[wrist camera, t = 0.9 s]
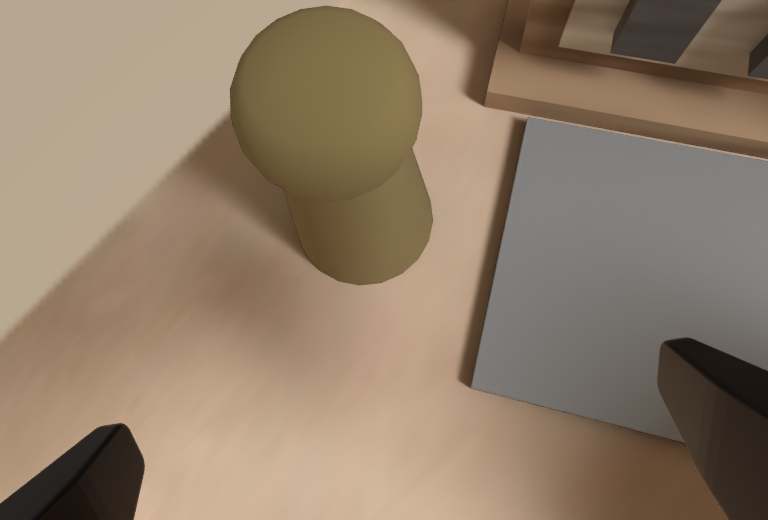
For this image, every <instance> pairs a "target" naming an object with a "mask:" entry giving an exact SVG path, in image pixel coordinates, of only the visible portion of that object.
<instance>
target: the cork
mask: <svg viewBox="0 0 768 520" xmlns="http://www.w3.org/2000/svg"><path fill="white" fill-rule="evenodd" d="M230 106H231V119H232V124H233V128H234V130H235V133H236V135H237V138H238V140H239V143H240V145H241V148H242V150H243V152H244V153H245V155H246V156H247V157H248V159H249V160H250V161H251V162H252V163H253V164H254V166H255V167H256V168H257V169H258V170H259V171H260V172H261V173H262V174H263V175H264V177H265V178H266V179H267V180H268V181H270V182H272V183H274V184H275V185H277V186H279V187H281V188H283V189H284V192H285V195H286V198H287V202H288V205H289V208H290V211H291V214H292V218H293V221H294V224H295V227H296V231H297V234H298V237H299V239H300V242H301V244H302V247H303V249H304V251H305V254H306V256H307V257H308V258H309V259H310V260H311V261H312V262H313V264H314V265H315V266H316V267H317V268H318V269H319V270H320V271H321V272H323V273H325V274H327V275H328V276H330V277H332V278H334V279H335V280H337V281H340V282H345V283H350V284H355V285H367V284H376V283H382V282H385V281H387V280H389V279H391V278H393V277H396V276H398V275H400V274H402V273H403V272H404V271H405V270H407V269H408V268H409V267H410V266H411V265H412V264H413V263H414V262H416V261H417V260H418V259H419V257H420V255H421V253H422V252H423V250H424V248H425V247H426V245H427V243H428V241H429V237H430V233H431V228H432V223H433V217H432V209H431V202H430V198H429V195H428V192H427V189H426V186H425V184H424V181H423V178H422V175H421V172H420V169H419V166H418V163H417V160H416V158H415V155H414V152H413V149H412V147H413V145H414V143H415V141H416V139H417V134H418V130H419V125H420V121H421V116H422V96H421V89H420V82H419V75H418V73H417V71H416V69H415V67H414V64H413V63H412V61H411V59H410V57H409V55H408V53H407V51H406V50H405V48H404V46H403V44H402V42H401V41H400V40H399V39H398V38H397V37H396V36H394V35H393V34H392V33H391V32H390V31H389V30H388V29H387V28H386V27H384V26H383V25H382V24H381V23H379V22H377V21H376V20H374V19H372V18H370V17H368V16H365V15H363V14H361V13H359V12H356V11H354V10H352V9H346V8H339V7H331V6H321V7H315V8H308V9H300V10H298V11H296V12H293V13H291V14H288V15H286V16H284V17H281V18H279V19H277V20H275V21H274V22H272V23H271V24H270V25H269V26H267V27H266V28H265V29H264V30H262V31H261V32H260V33H259V34H257V35H256V36H255V38H254V39H253V41H252V42H251V43H250V45H249V46H248V47H247V49H246V50H245V52H244V53H243V54H242V56H241V58H240V61H239V63H238V66H237V69H236V72H235V75H234V78H233V81H232V85H231V88H230Z"/></svg>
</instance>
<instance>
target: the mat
mask: <svg viewBox="0 0 768 520" xmlns="http://www.w3.org/2000/svg"><path fill="white" fill-rule="evenodd" d="M683 337H689V338H693V339H695V340H697V341H700V342H702V343H704V344H707V345H709V346H711V347H714V348H716V349H718V350H721V351H723V352H725V353H728V354H730V355H732V356H735V357H737V358H739V359H742V360H744V361H746V362H749V363H751V364H753V365H756V366H758V367H760V368H763V369H765V370H767V371H768V161H763V160H758V159H752V158H747V157H741V156H736V155H731V154H725V153H720V152H714V151H709V150H704V149H698V148H693V147H687V146H682V145H677V144H671V143H666V142H660V141H655V140H649V139H644V138H639V137H633V136H628V135H622V134H617V133H612V132H606V131H601V130H595V129H590V128H585V127H579V126H574V125H568V124H563V123H558V122H552V121H547V120H541V119H536V118H530V117H528V119H527V121H526V124H525V129H524V134H523V139H522V143H521V148H520V153H519V158H518V162H517V167H516V172H515V177H514V181H513V186H512V191H511V196H510V200H509V205H508V210H507V215H506V219H505V224H504V229H503V234H502V238H501V243H500V248H499V253H498V257H497V262H496V267H495V272H494V277H493V281H492V286H491V291H490V296H489V300H488V305H487V310H486V315H485V319H484V324H483V329H482V334H481V338H480V343H479V348H478V353H477V357H476V362H475V367H474V372H473V376H472V381H471V386H470V388H472V389H476V390H480V391H483V392H487V393H491V394H495V395H499V396H503V397H507V398H511V399H515V400H519V401H523V402H526V403H530V404H534V405H538V406H542V407H546V408H550V409H554V410H558V411H562V412H566V413H569V414H573V415H577V416H581V417H585V418H589V419H593V420H597V421H601V422H605V423H609V424H613V425H616V426H620V427H624V428H628V429H632V430H636V431H640V432H644V433H648V434H652V435H656V436H659V437H663V438H667V439H671V440H675V441H679V442H683V443H684V441H683V439H682V437H681V435H680V433H679V431H678V429H677V427H676V425H675V423H674V421H673V419H672V417H671V415H670V413H669V411H668V409H667V407H666V405H665V403H664V401H663V399H662V397H661V395H660V393H659V390H658V385H657V374H658V363H659V352H660V346H661V344H662V343H663V342H664V341H665V340H670V339H676V338H683Z"/></svg>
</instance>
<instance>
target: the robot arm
mask: <svg viewBox="0 0 768 520" xmlns="http://www.w3.org/2000/svg"><path fill="white" fill-rule="evenodd" d="M657 385H658V390H659V393H660V395H661V397H662V399H663V401H664V403H665V405H666V407H667V409H668V411H669V413H670V415H671V417H672V419H673V421H674V423H675V425H676V427H677V429H678V431H679V433H680V435H681V437H682V439H683V441H684V443H685V445H686V447H687V449H688V451H689V453H690V455H691V457H692V459H693V460H694V462H695V464H696V466H697V468H698V470H699V472H700V474H701V476H702V477H703V479H704V481H705V482H706V484H707V486H708V487H709V489H710V491H711V492H712V494H713V495H714V497H715V498H716V500H717V501H718V503H719V505H720V506H721V508H722V509H723V511H724V512H725V514H726V515H727V517H728V518H729V520H768V371H767V370H765V369H763V368H760V367H758V366H756V365H753V364H751V363H749V362H746V361H744V360H742V359H739V358H737V357H735V356H732V355H730V354H728V353H725V352H723V351H721V350H718V349H716V348H714V347H711V346H709V345H707V344H704V343H702V342H700V341H697V340H695V339H693V338H689V337H683V338H676V339H670V340H665V341H664V342H663V343H662V344H661V346H660V352H659V363H658V374H657ZM144 468H145V465H144V459H143V456H142V454H141V452H140V450H139V448H138V446H137V443H136V441H135V439H134V437H133V435H132V433H131V431H130V429H129V428H128V427H127V426H126V425H125V424H122V423H118V424H111V425H105V426H100V427H98V428H96V429H95V430H94V431H92V432H91V433H90V434H89V435H87V436H86V437H85V438H83V439H82V440H81V441H80V442H78V443H77V444H76V445H75V446H73V447H72V448H71V449H69V450H68V451H67V452H66V453H64V454H63V455H62V456H60V457H59V458H58V459H57V460H55V461H54V462H53V463H52V464H50V465H49V466H48V467H46V468H45V469H44V470H43V471H41V472H40V473H39V474H37V475H36V476H35V477H34V478H32V479H31V480H30V481H29V482H27V483H26V484H25V485H23V486H22V487H21V488H20V489H18V490H17V491H16V492H14V493H13V494H12V495H11V496H9V497H8V498H7V499H6V500H4V501H3V502H2V503H0V520H134V516H135V511H136V507H137V502H138V498H139V493H140V489H141V484H142V480H143V475H144Z"/></svg>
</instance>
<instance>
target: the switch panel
mask: <svg viewBox="0 0 768 520" xmlns="http://www.w3.org/2000/svg"><path fill="white" fill-rule="evenodd" d="M484 106H486V107H491V108H497V109H502V110H508V111H513V112H518V113H524V114H529V115H535V116H540V117H546V118H551V119H556V120H562V121H567V122H573V123H578V124H584V125H589V126H594V127H600V128H605V129H611V130H616V131H622V132H627V133H632V134H638V135H643V136H649V137H654V138H660V139H665V140H670V141H676V142H681V143H687V144H692V145H698V146H703V147H708V148H714V149H719V150H725V151H730V152H736V153H741V154H746V155H752V156H757V157H763V158H768V0H508V3H507V8H506V12H505V16H504V20H503V25H502V29H501V33H500V38H499V42H498V46H497V51H496V55H495V59H494V63H493V68H492V72H491V76H490V81H489V85H488V89H487V94H486V99H485V104H484Z"/></svg>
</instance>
